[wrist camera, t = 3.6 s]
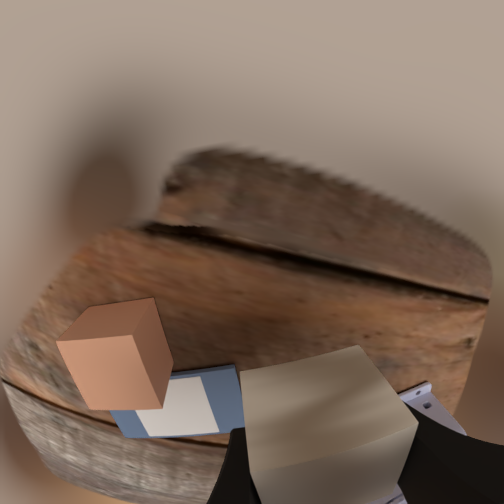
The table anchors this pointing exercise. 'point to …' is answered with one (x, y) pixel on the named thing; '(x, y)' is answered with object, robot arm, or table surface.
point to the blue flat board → (190, 407)
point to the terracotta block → (119, 356)
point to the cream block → (325, 430)
